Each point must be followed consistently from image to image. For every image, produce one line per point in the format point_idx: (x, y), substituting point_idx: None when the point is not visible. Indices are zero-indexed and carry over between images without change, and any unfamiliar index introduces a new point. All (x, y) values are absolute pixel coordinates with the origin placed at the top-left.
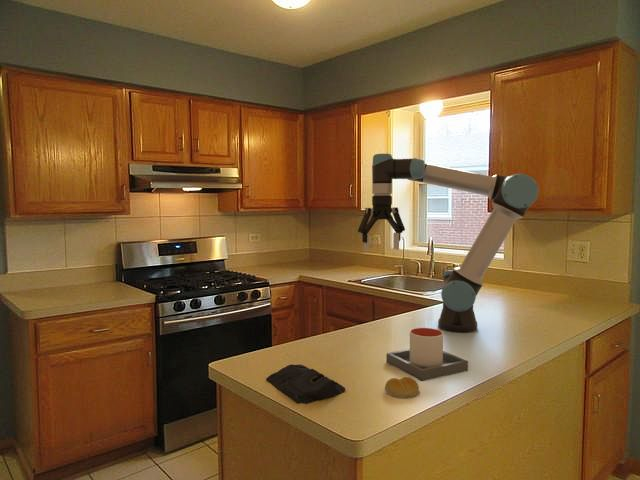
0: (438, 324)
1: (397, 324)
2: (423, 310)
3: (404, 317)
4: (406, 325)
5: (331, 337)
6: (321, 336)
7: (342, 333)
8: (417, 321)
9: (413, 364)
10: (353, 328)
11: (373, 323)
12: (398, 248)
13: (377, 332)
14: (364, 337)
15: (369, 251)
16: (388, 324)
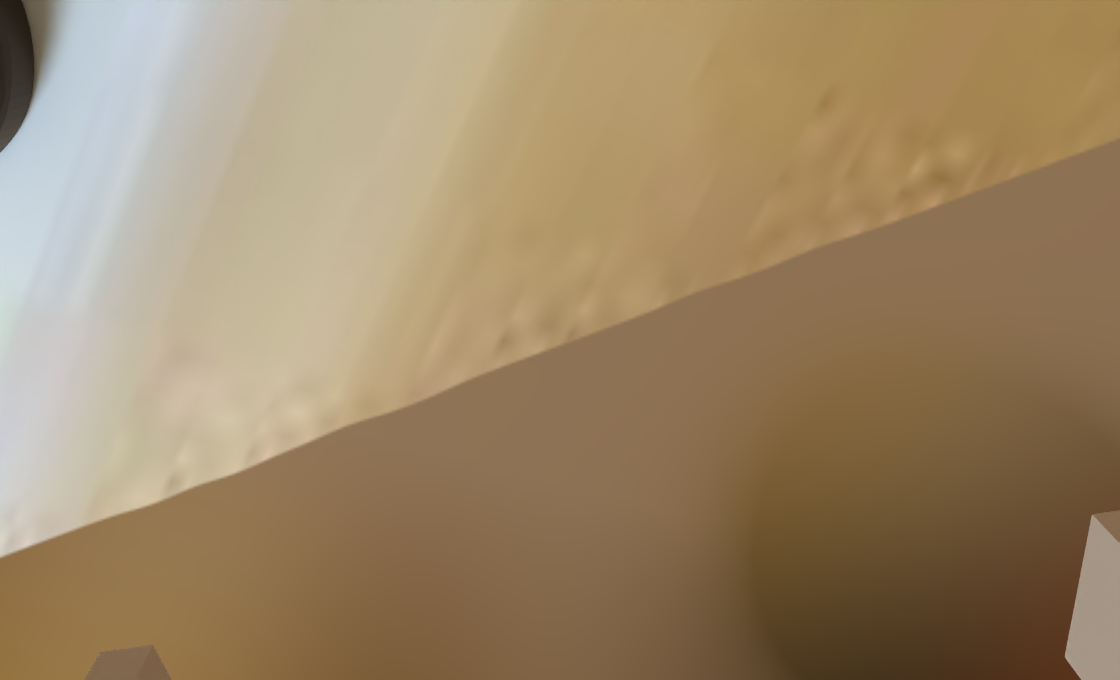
0: (22, 85)
1: (351, 262)
2: (10, 537)
3: (224, 415)
4: (291, 215)
5: (987, 99)
6: (1036, 148)
7: (859, 171)
8: (160, 290)
9: None
10: (719, 266)
11: (519, 340)
12: (101, 676)
13: (599, 108)
14: (761, 10)
15: (1095, 515)
16: (420, 283)
